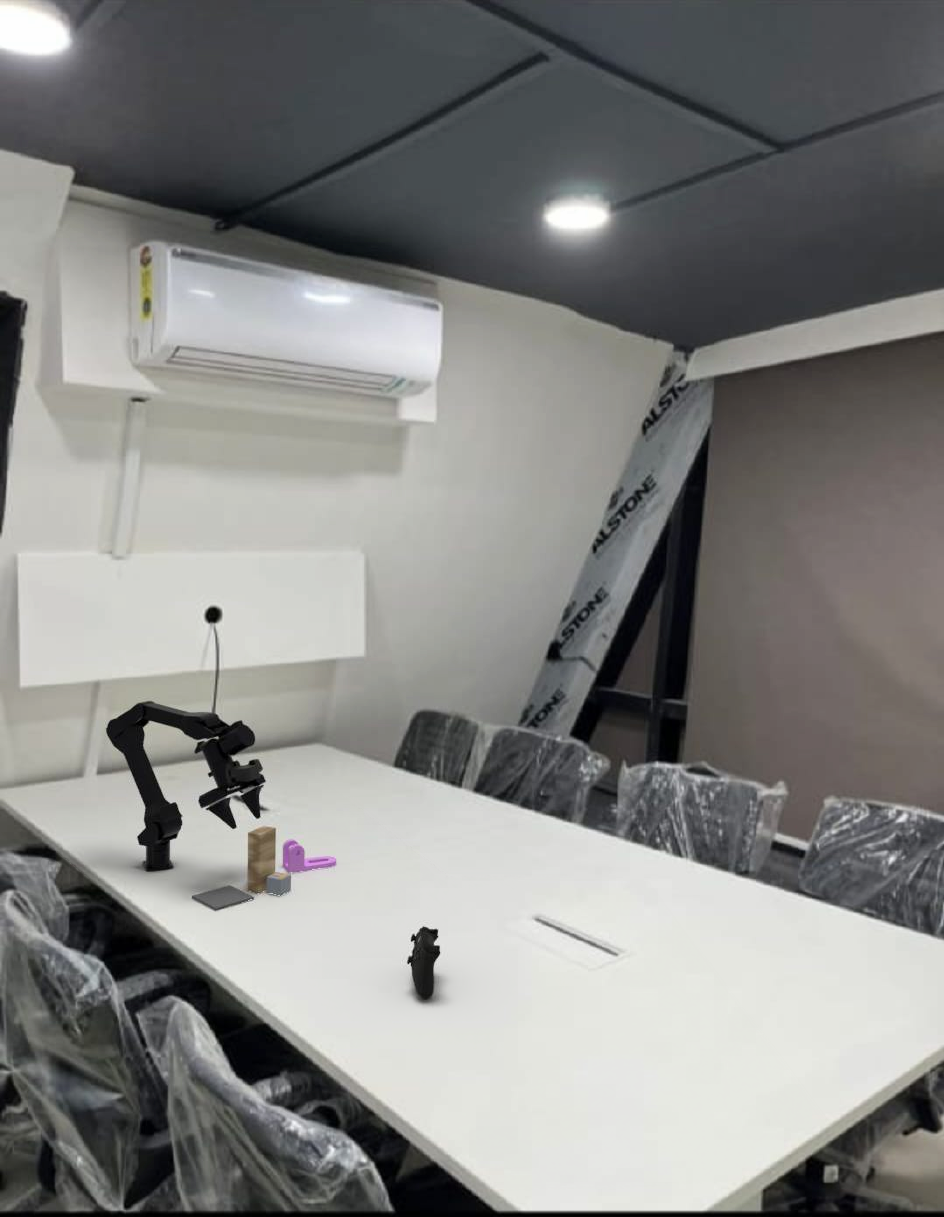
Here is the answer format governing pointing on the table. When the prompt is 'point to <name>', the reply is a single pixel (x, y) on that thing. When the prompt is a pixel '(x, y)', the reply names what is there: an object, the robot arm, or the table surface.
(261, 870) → the wooden block
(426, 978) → the gaming controller
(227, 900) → the charcoal mat
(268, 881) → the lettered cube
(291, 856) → the bracket
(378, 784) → the table surface
